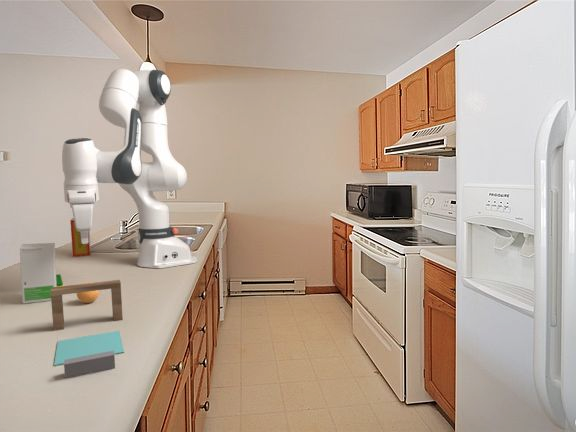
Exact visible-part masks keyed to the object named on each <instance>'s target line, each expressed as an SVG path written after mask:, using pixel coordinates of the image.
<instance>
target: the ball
mask: <svg viewBox="0 0 576 432" xmlns="http://www.w3.org/2000/svg"><path fill="white" fill-rule="evenodd" d="M86 283H90V282H88V281H87V282H84V283H83V284H86ZM99 294H100V290H96V291H88V292H80V293H76V297H77V299H78V300H79V301H80V302H81V303H85V304H89V303H93V302H95V301H96V299H98V297H99Z"/></svg>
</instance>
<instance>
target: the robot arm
mask: <svg viewBox="0 0 576 432" xmlns="http://www.w3.org/2000/svg"><path fill="white" fill-rule="evenodd" d="M171 92H172V85H171V80H170V78H169V76H168V75H167V73H166V72H165V71H163V70H160V69H151V70H149V69H148V70H147V69H143V70H136V71H131V70H129V69H127V68H116V69H114V70H113V71H112V72H111V73H110V74H109V76H108V78H107V79H106V82H105V84H104V85H103V88H102V90H101V93H100V97H99V100H98V101H99V102H98V110H99V112H100V113H101V115H102V117H103V118H104V119H105V120H106V122H109V123H110V124H111V125H113V126H116V127H119V128H121V129H124V136H123V137H124V138H123V147H122V148H121V149H119V150H113V151H111V150H108V151H107V150H106V151H103V150H101V149H99V148H97V147H96V146H95V143H94V139H92V138H86V137H80V138H70V139H67V140H65V141H64V143H63V145H62V149H61V150H62V151H61V152H62V153H61V154H62V155H61V161H62V162H61V164H62V166H61V167H62V172H63V175H64V181H63V192H64V193H63V195H64V202H65V203H68V204H69V207H70V208H71V211H72V218H74V222H75V226H76V230H77V231H78V232H80V234H81V242H82V244H87V243H88V231H89V232H90V231H91V230H92V227H93V217H94V216H93V215H94V214H93V213H94V212H93V211H94V208H95V207H96V204H95V203H96V202H99V201H100V191H99V184H118V185H119V187H120V188H121V189H123V190H124V191H126V192H127V193H128V194H129V195H130V196H131V198H132V199H133V201H134V203H135V204H136V207H137V213H138V223H139V225H138V226H139V228H138V232H137V233H138V243H139V249H138V258H137V261H136V266H137V267H141V268H153V269H164V268H171V267H177V266H184V265H185V266H186V265H191V264H196V263H197V262H198V259H197V257H196V256H194V255H192V252H191V249H190V246H189V245H188V244H187V243H186V242H184V240H182V239H180V238H178V237H177V236H176V235H177V234H179V230H178V229H177V228H175V227H172V226H171V224H170V209H169V207H168V205H167V204H166V203H164V202H163V201H161V200H159V199H157V198H156V197H155V195H154V192H173V191H177V190H179V191H180V190H182V189H183V188H185V186H186V183H187V181H188V173H187V170H186V168H185V167H184V165H182V164H181V163H179V161H177V160H176V159H175V158H174V156H173V153H171V150H170V147H169V134H168V133H169V130H168V125H169V124H168V114H167V109H166V103H167V101H168V99H169V97H170V95H171ZM137 104H138V109H137ZM142 151H143V152H144V153H146V154H148V155H151V157H152V162H142Z"/></svg>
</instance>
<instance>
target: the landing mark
mask: <svg viewBox="0 0 576 432" xmlns="http://www.w3.org/2000/svg"><path fill="white" fill-rule="evenodd" d="M122 340H123V339H122V336H121V333H120V330H115V331H108V332H104V333H98V334H97V333H96V334H91V335H86V336H85V335H84V336H80V337H79V336H78V337H73V338H67V339H63V340H58V341H57V342H56V343H57V344H56V350H55V356H54V363H53V366H54V367H58V366H64V360H66V359H71V358H77V357H82V356H87V355H93V354H98V353H103V352H109V351H114V356H115V355H119V354H124V353H125V349H124V346H123V342H122Z"/></svg>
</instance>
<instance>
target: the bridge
mask: <svg viewBox="0 0 576 432" xmlns="http://www.w3.org/2000/svg"><path fill="white" fill-rule="evenodd" d="M85 283H86V284H84V283H80V284H71V285H69V284H68V285H63V286H61V287H52V288H51V300H50V301H51V303H50V304H51V313H52V314H51V315H52V327H53V329H52V330H53V331H59V330H64V328H65V318H64V317H65V316H64V303H63V302H64V301H63V295H64V296H65V295H70V294H72V295H73V294H77V293H80V292H88V291H96V290H99V291H105V290H111V291H110V292H111V307H112V308H111V309H112V319H113V320H112V321H113V322H115V321H116V322H117V321H123V318H124V317H123V303H122V300H123V299H122V286H121V285H122V284H121V283H122V282H121V280H120V279H115V280H113V279H112V280H104V281H96V282H89V283H88V282H85Z"/></svg>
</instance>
